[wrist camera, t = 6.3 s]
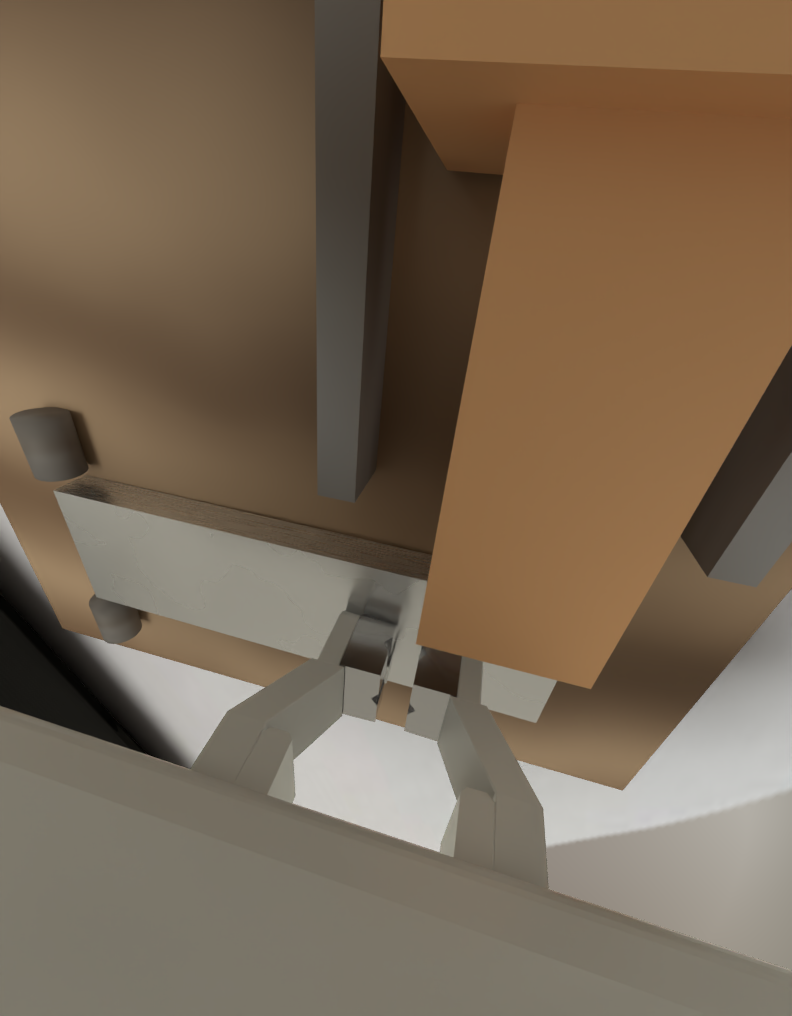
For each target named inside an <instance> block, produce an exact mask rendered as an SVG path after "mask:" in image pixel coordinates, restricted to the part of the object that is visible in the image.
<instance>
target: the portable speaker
mask: <svg viewBox="0 0 792 1016" xmlns="http://www.w3.org/2000/svg"><path fill="white" fill-rule="evenodd" d="M0 706H2V707H5V708H8V709H11V710H14V711H17V712H20V713H23V714H26V715H29V716H32V717H35V718H38V719H41V720H44V721H47V722H50V723H53V724H56V725H59V726H62V727H65V728H68V729H71V730H74V731H77V732H80V733H83V734H86V735H89V736H92V737H95V738H98V739H101V740H104V741H107V742H110V743H113V744H116V745H119V746H122V747H125V748H128V749H131V750H134V751H137V752H140V753H143V754H146V753H145V751H144V750H143V749H142V748H141V747H140V746H139V745H138V744H137V743H136V741H135V740H134V739H133V738H132V737H131V736H130V735H129V734H128V733H127V731H126V730H125V729H124V728H123V727H122V726H121V725H120V724H119V723H118V722H117V721H116V719H115V718H114V717H113V716H112V715H111V714H110V713H109V712H108V711H107V710H106V709H105V707H104V706H103V705H102V704H101V703H100V702H99V701H98V700H97V699H96V698H95V697H94V695H93V694H92V693H91V692H90V691H89V690H88V689H87V688H86V687H85V686H84V685H83V683H82V682H81V681H80V680H79V679H78V678H77V677H76V676H75V675H74V674H73V673H72V671H71V670H70V669H69V668H68V667H67V666H66V665H65V664H64V663H63V662H62V661H61V659H60V658H59V657H58V656H57V655H56V654H55V653H54V652H53V651H52V650H51V649H50V647H49V646H48V645H47V644H46V643H45V642H44V641H43V640H42V639H41V638H40V637H39V635H38V634H37V633H36V632H35V631H34V630H33V629H32V628H31V627H30V626H29V625H28V623H27V622H26V621H25V620H24V619H23V618H22V617H21V616H20V615H19V614H18V613H17V611H16V610H15V609H14V608H13V607H12V606H11V605H10V604H9V603H8V602H7V601H6V599H5V598H4V597H3V596H2V595H1V594H0ZM146 755H147V754H146Z"/></svg>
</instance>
